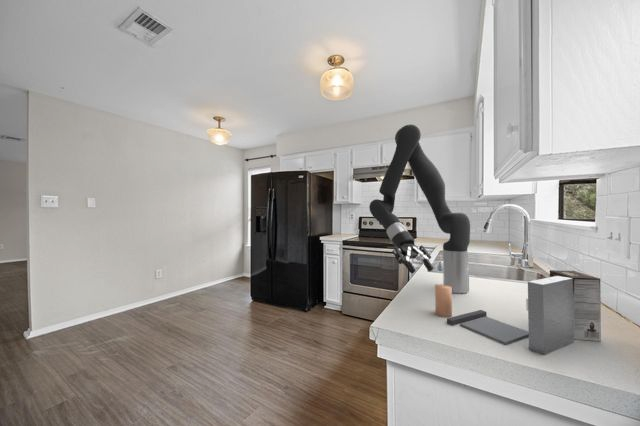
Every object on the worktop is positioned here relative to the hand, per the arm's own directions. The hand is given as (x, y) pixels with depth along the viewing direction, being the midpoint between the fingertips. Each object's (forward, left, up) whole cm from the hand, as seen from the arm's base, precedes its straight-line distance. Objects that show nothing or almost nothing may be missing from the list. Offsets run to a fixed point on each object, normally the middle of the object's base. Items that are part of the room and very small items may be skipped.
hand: (422, 271), depth 89 cm
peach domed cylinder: (0, +8, -12) cm, 15 cm away
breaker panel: (-7, +33, -12) cm, 36 cm away
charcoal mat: (-3, +22, -12) cm, 26 cm away
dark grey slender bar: (-3, +14, -13) cm, 19 cm away
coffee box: (-21, +32, -13) cm, 41 cm away
